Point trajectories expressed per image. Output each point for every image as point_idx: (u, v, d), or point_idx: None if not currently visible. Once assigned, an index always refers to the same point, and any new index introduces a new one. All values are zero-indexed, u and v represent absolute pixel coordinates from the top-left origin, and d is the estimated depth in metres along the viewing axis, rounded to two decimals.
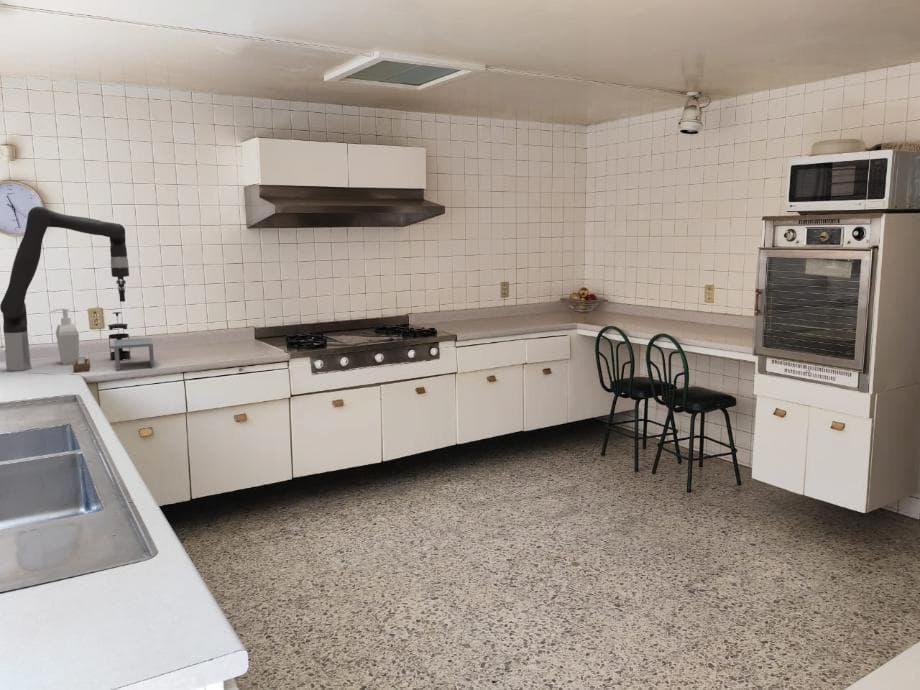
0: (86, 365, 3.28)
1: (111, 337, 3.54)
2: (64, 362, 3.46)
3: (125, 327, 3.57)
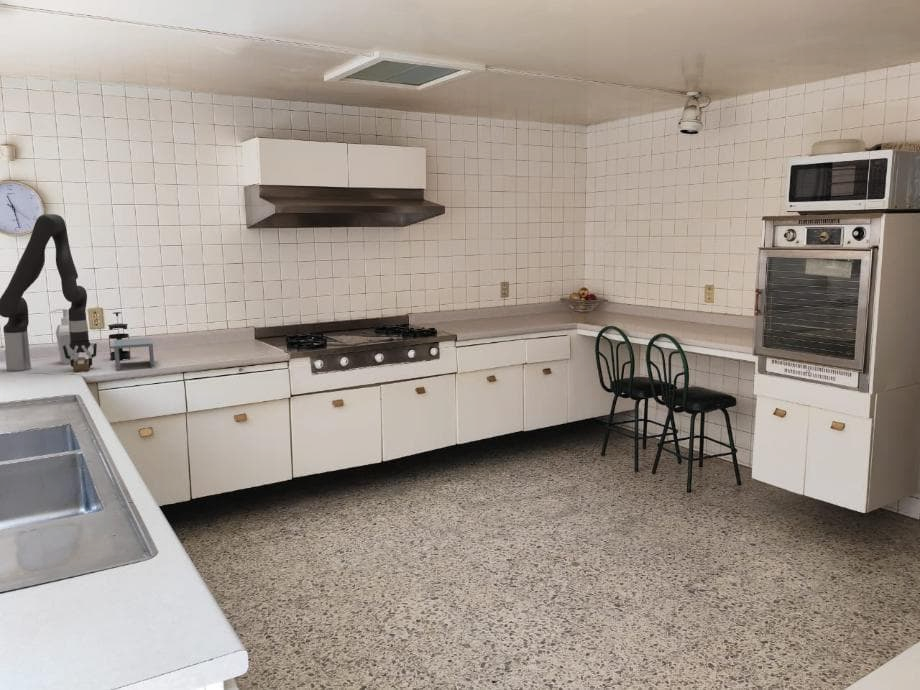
0: (86, 365, 3.28)
1: (111, 337, 3.54)
2: (64, 362, 3.46)
3: (125, 327, 3.57)
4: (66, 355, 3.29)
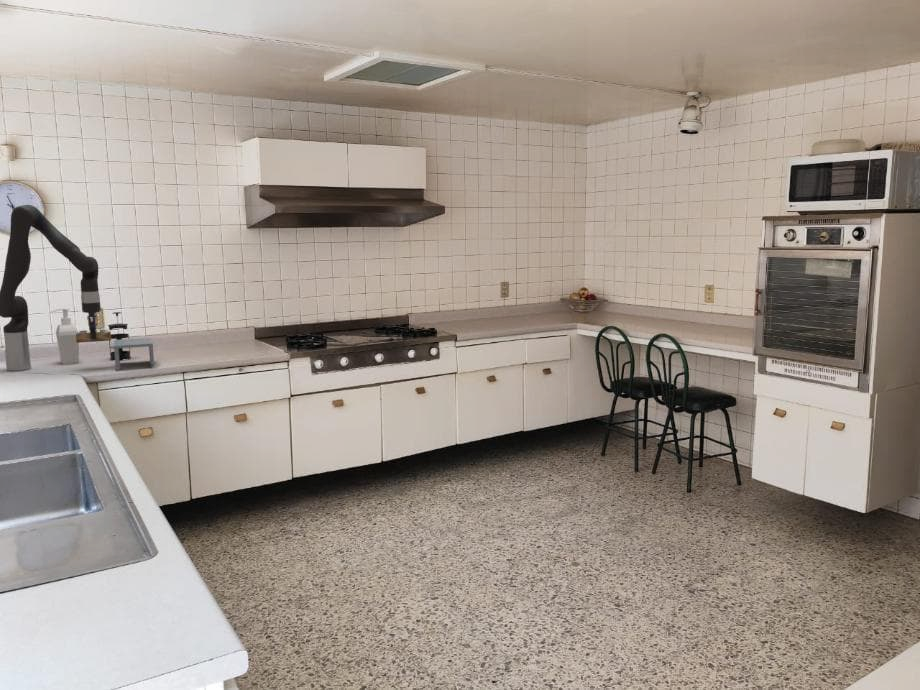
0: None
1: (111, 337, 3.54)
2: (64, 362, 3.46)
3: (125, 327, 3.57)
4: (95, 326, 3.28)
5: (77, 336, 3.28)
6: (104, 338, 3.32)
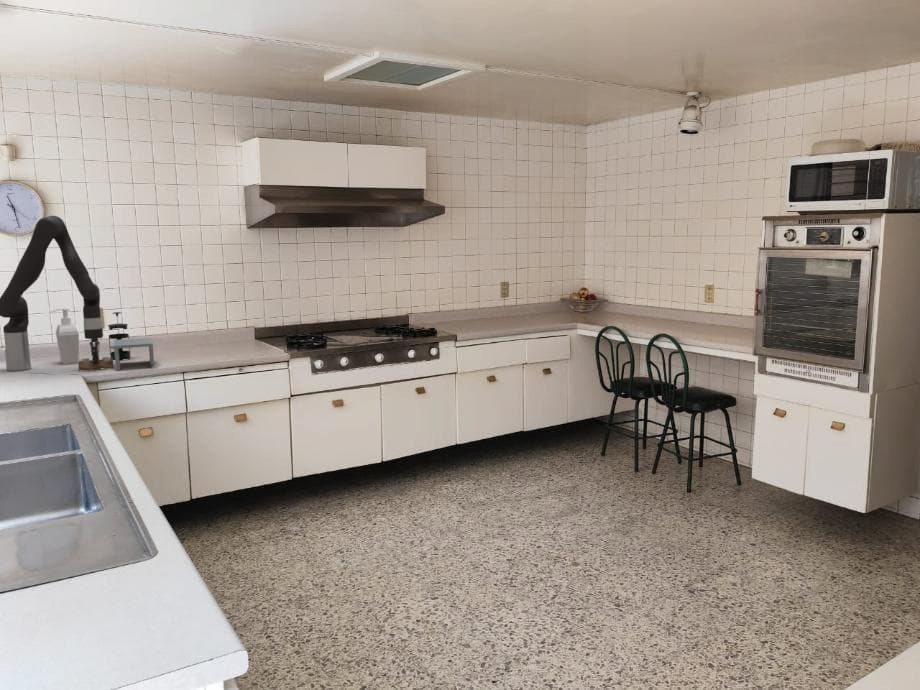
0: None
1: (111, 337, 3.54)
2: (64, 362, 3.46)
3: (125, 327, 3.57)
4: (97, 352, 3.29)
5: (80, 364, 3.30)
6: (106, 366, 3.34)
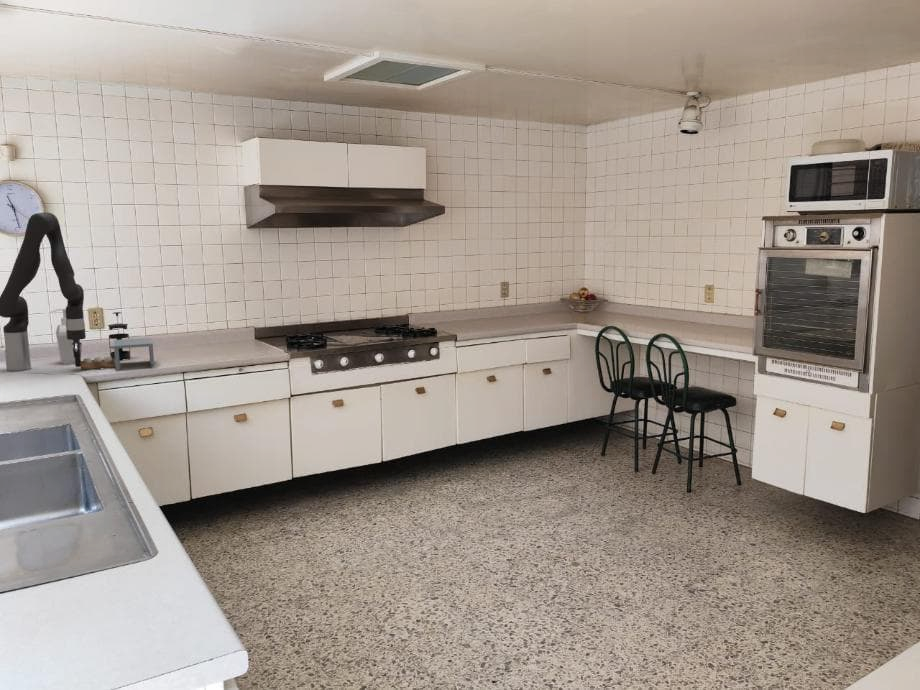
0: None
1: (111, 337, 3.54)
2: (64, 362, 3.46)
3: (125, 327, 3.57)
4: (80, 355, 3.29)
5: (81, 364, 3.30)
6: (108, 366, 3.35)
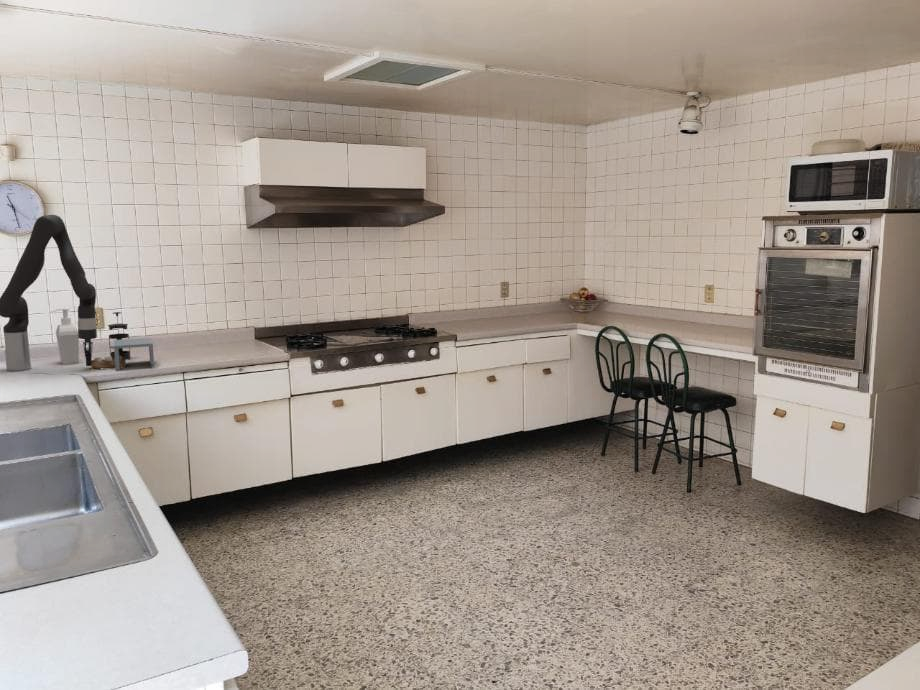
0: None
1: (111, 337, 3.54)
2: (64, 362, 3.46)
3: (125, 327, 3.57)
4: (91, 354, 3.31)
5: (92, 363, 3.32)
6: None
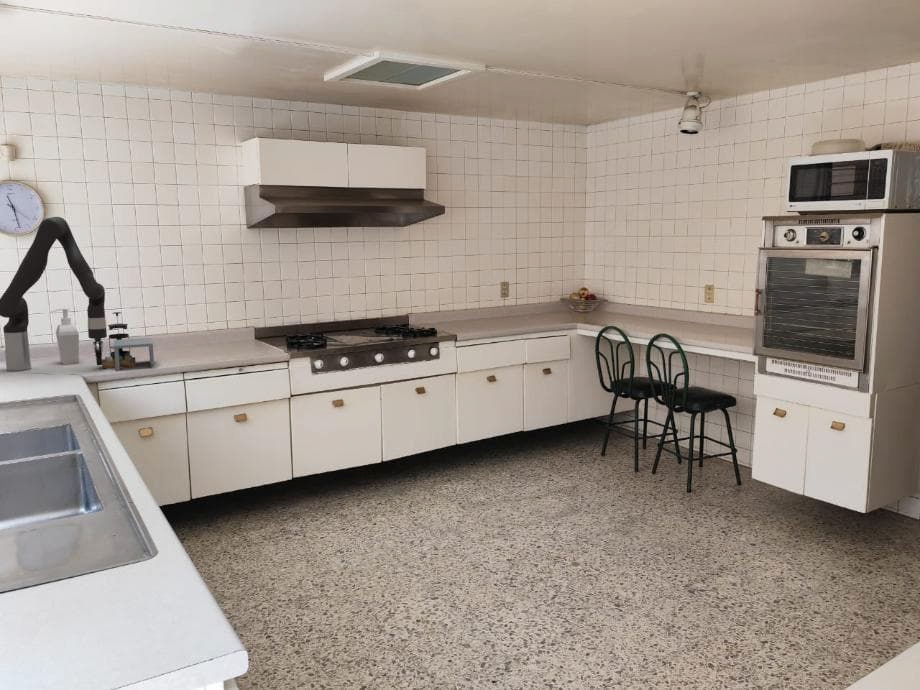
0: None
1: (111, 337, 3.54)
2: (64, 362, 3.46)
3: (125, 327, 3.57)
4: (101, 353, 3.32)
5: (103, 362, 3.34)
6: (129, 364, 3.38)
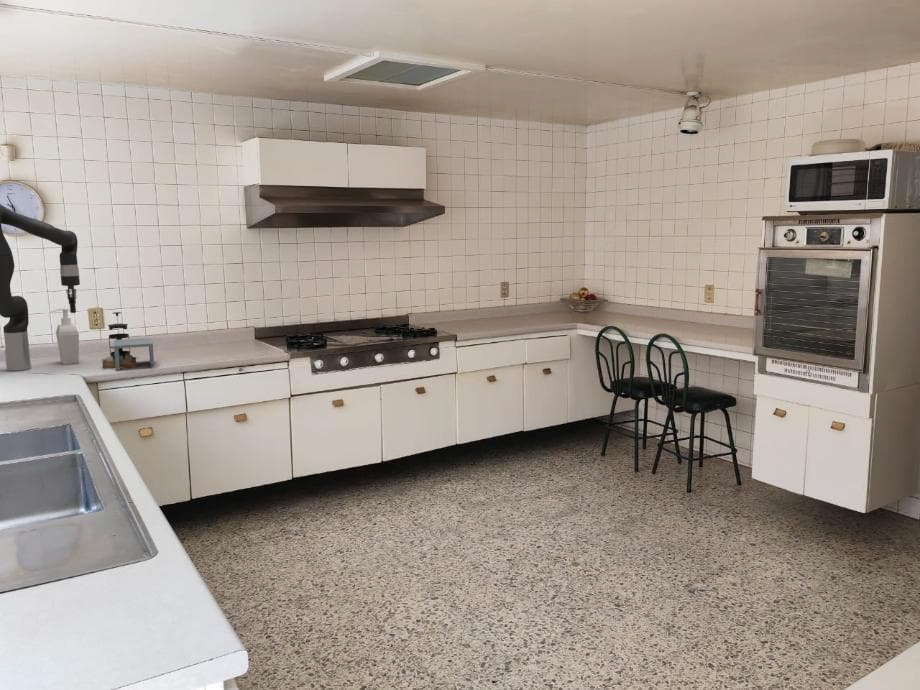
0: (135, 358, 3.44)
1: (111, 337, 3.54)
2: (64, 362, 3.46)
3: (125, 327, 3.57)
4: (74, 300, 3.34)
5: (103, 362, 3.34)
6: (130, 364, 3.38)
